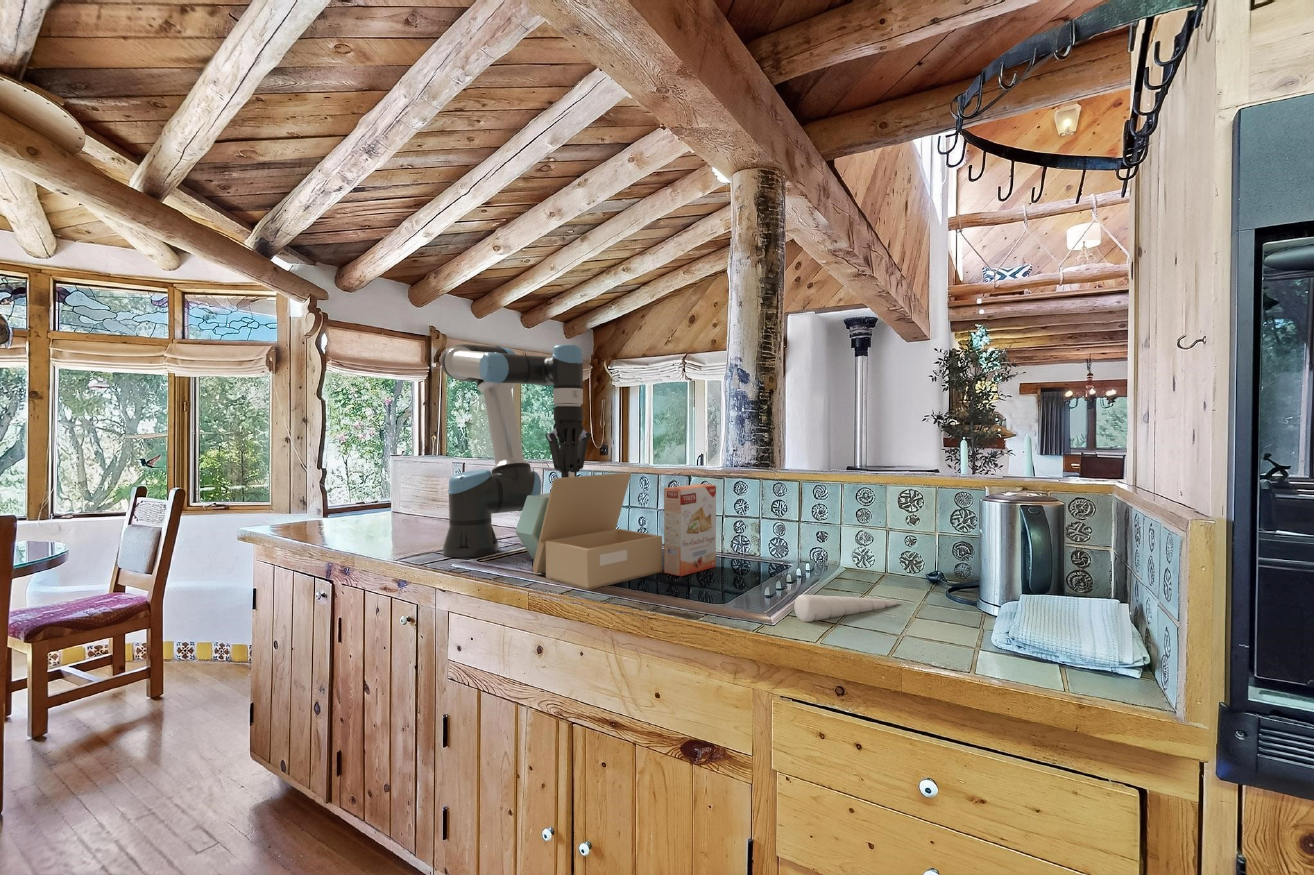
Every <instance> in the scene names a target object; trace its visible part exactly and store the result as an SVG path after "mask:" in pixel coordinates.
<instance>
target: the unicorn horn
mask: <svg viewBox="0 0 1314 875" xmlns="http://www.w3.org/2000/svg"><path fill="white" fill-rule="evenodd" d="M900 603H901V602H900V601H897V600H892V599H891V600H890V599H882V598H869V597H858V596H857V597H855V596H840V595H838V596H837V595H835V596H834V595H820V594H819V595H817V594H799V595H798V596H796V599H795V601H794V606H793V607H794V612H795V615H796V617H797V619H798V620H799V621H802V622H804V623H810V622H814V621H816V622H817V621H822V620H827V619H829V618H830V619H832V618H838V617H843V616H849V615H854V614H858V613H865V612H870V611H871V612H872V611H875V610H880V609H885V608H890V607H894V606H897V605H898V604H900Z"/></svg>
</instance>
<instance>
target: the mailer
mask: <svg viewBox="0 0 1314 875" xmlns="http://www.w3.org/2000/svg"><path fill="white" fill-rule="evenodd" d="M545 543H546V572H545V578H546V579H549V580H551V579H553V580H552V581H554V580H555V581H556V582H558V581H560V582H559V583H561V582H563V583H562V584H564V583H565V584H564V585H568V584H569V585H568V586H571V587H575V588H579V589H581V590H585V591H591V590H594V589H600V588H602V587H601V586H604V587H607V586H611V585H615V584H619V583H624V582H628V581H631V580H635V579H639V578H643V577H648V576H653V575H656V574H659V573H663V536H662V535H659V534H654V533H653V534H652V533H646V532H640V531H634V530H630V529H622V528H616V529H615V530H609V531H603V532H597V533H590V534H584V535H578V536H572V537H566V538H560V539H554V540H548V541H545ZM555 581H554V582H555ZM599 587H600V588H599Z"/></svg>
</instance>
